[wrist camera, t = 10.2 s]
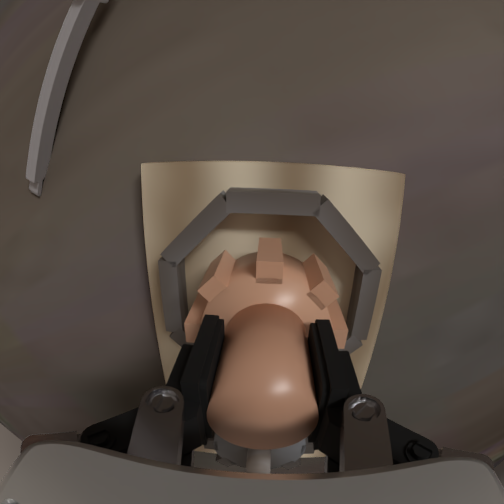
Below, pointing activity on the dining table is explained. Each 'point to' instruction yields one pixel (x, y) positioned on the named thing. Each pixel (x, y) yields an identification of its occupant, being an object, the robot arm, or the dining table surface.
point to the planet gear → (265, 343)
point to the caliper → (56, 89)
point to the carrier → (246, 241)
